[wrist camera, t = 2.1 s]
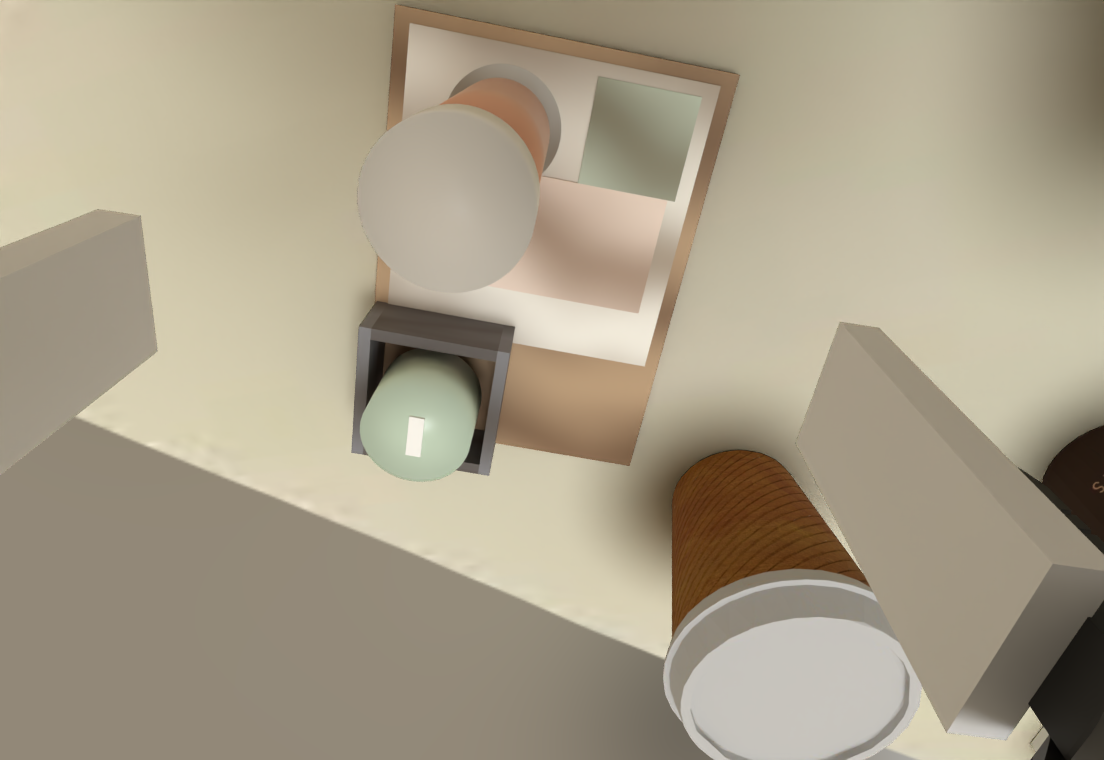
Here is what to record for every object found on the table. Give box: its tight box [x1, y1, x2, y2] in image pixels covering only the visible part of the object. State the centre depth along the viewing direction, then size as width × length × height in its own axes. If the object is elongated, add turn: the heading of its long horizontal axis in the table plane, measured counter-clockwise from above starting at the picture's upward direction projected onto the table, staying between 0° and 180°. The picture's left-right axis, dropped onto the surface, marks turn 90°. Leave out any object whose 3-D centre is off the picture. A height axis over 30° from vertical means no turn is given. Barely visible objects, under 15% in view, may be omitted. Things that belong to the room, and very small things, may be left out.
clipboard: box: [351, 5, 740, 476], centre depth 29 cm, size 18×13×4 cm
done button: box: [360, 348, 482, 482], centre depth 29 cm, size 4×4×4 cm
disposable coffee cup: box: [663, 450, 922, 760], centre depth 31 cm, size 10×10×12 cm
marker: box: [357, 78, 550, 293], centre depth 21 cm, size 4×4×13 cm
